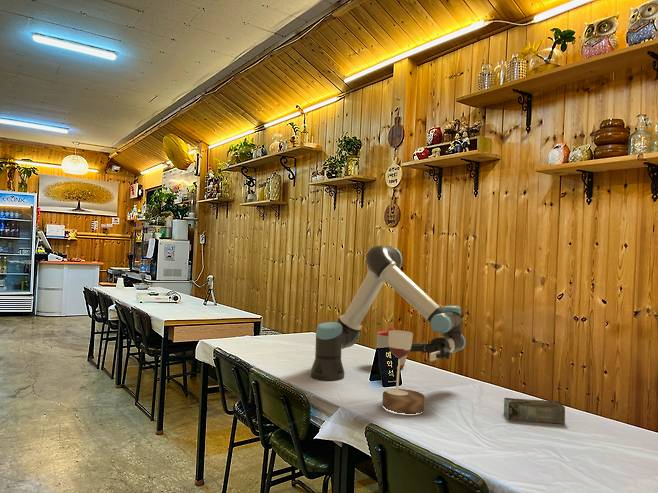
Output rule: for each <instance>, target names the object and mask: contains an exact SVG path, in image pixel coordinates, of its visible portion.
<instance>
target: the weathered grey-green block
mask: <svg viewBox="0 0 658 493" xmlns="http://www.w3.org/2000/svg"><path fill="white" fill-rule="evenodd" d="M503 402H504V403H503V414H504V416H505V417H506V418H507V420H508V421H517V420H518V422H519V421H520V422H530V423H546V424H556V423H558V425H565V422H566V406H564V405H563V403H561V402H559V401H558V400H553V399H550V400H549V399H548V400H544V399H527V398H515V397H514V398H512V397H504V399H503Z"/></svg>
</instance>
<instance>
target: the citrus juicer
mask: <svg viewBox="0 0 658 493" xmlns="http://www.w3.org/2000/svg"><path fill="white" fill-rule="evenodd" d="M392 330H397V329H396V328H395V327H394V326H391V327H390V328H389V329H388V330H379V331H376V349H377V348H383V347H389V342H388V333H389V331H392ZM407 356H408V354H407V355H406V356H404V357H402V358H401V359H400V368H401V369H400V370H402V369H404V367H405V364H406V361H407Z"/></svg>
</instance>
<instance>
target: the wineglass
mask: <svg viewBox="0 0 658 493" xmlns="http://www.w3.org/2000/svg"><path fill="white" fill-rule="evenodd" d="M413 336H414V333H413V332H411V331H407V330H406V331H405V330H399V329H398V330H397V329H396V330H392V331H389V333H388V342H389V349H390V352H391V353H392V354H393V355H394V356H395V357H397V358H398V366H397V371H396V383H395V384H396V385H395V386H396V387H395V388H392V389H390V388H389V389H385V391H386V392H387V393H389V394H393V395H408V392H406V391H403V390H398V389H399V385H400V384H399V383H400V370H401V369H400V359H401V358H402V357H404V356H406V355H407V356H408V355H409V353H410V349H411V345H412V343H413V338H414V337H413Z"/></svg>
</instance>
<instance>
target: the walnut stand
mask: <svg viewBox="0 0 658 493" xmlns="http://www.w3.org/2000/svg"><path fill="white" fill-rule="evenodd" d="M398 390H403V391H406V392H408V395H393V394H389V393H387V392H386V390H384V391H383V392H382V402H381V403H382V405H383V406H384V407H385V408H386V409H388V410H391V411H394V412H397V413H405V414H416V413H421V412H423V411H424V412H425V397H426V396H425V395H424V394H423V393H421V392H419V391H416V390H413V389H412V390H411V389H405V388H404V389H403V388H398ZM382 405H381V406H382ZM424 412H423V413H424Z"/></svg>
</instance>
